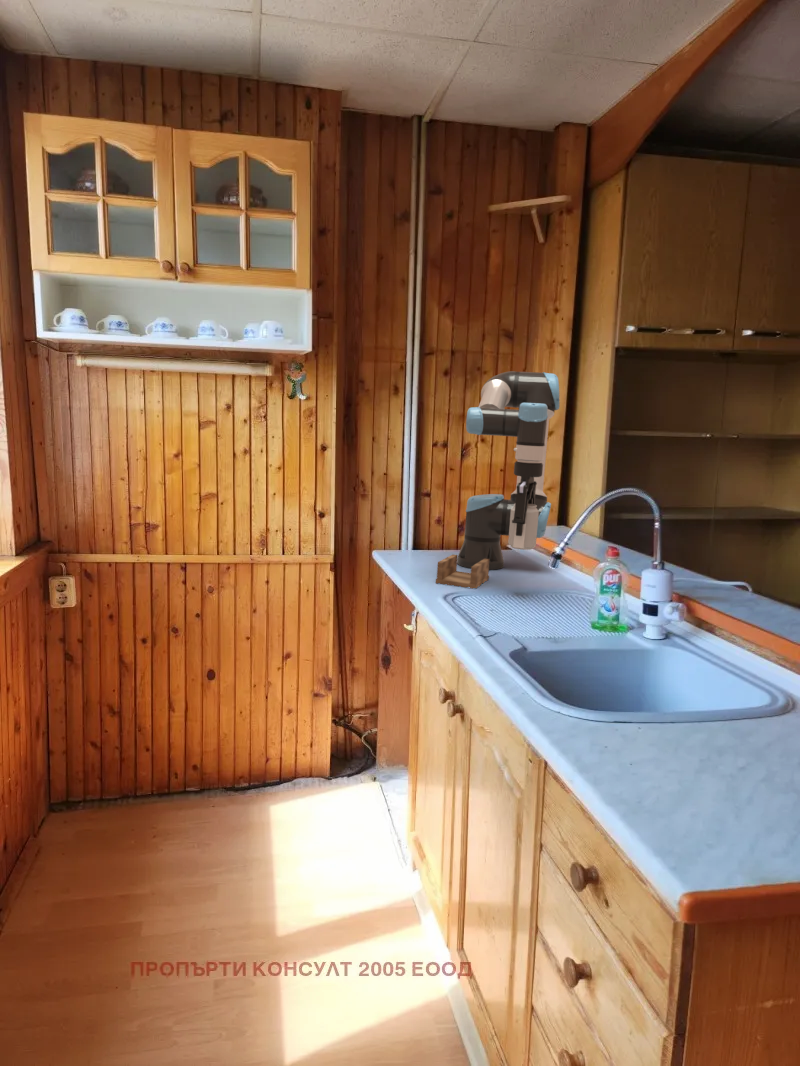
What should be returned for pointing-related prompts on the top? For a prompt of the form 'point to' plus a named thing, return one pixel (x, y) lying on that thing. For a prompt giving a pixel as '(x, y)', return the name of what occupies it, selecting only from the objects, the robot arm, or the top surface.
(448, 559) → the rack
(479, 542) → the robot arm
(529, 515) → the can
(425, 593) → the top surface
